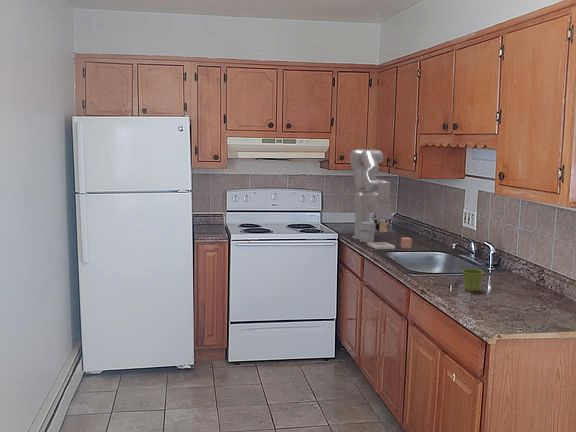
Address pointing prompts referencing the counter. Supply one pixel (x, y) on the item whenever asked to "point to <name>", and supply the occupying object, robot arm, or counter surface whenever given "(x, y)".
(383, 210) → the robot arm
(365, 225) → the supplement box
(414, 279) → the counter surface
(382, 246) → the baseplate
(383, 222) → the oak block
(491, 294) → the counter surface
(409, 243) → the terracotta block
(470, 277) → the plant pot
